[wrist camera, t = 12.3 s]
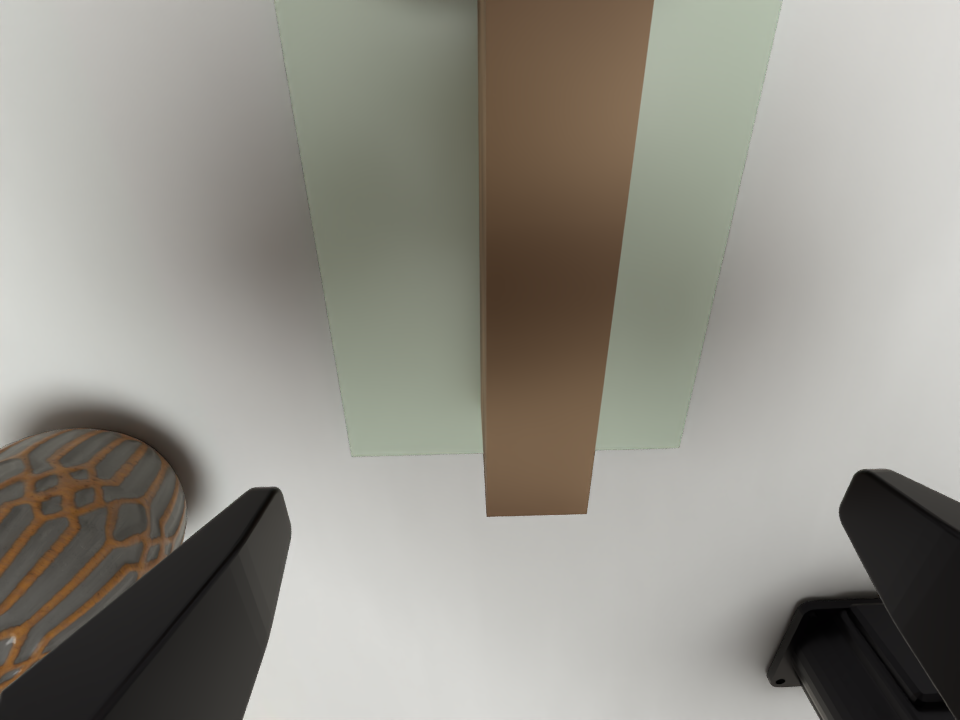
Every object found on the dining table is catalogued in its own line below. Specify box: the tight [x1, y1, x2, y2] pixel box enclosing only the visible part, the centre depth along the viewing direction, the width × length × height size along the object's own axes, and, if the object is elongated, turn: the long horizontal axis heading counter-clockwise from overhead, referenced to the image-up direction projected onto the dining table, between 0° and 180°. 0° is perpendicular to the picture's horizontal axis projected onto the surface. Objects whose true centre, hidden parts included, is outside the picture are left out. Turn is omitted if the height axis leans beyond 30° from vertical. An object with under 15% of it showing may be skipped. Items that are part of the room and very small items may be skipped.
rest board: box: [274, 0, 783, 457], centre depth 14 cm, size 20×12×1 cm, turn 1°
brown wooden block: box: [477, 0, 654, 517], centre depth 12 cm, size 13×6×5 cm, turn 0°
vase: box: [0, 428, 187, 693], centre depth 15 cm, size 7×7×9 cm
